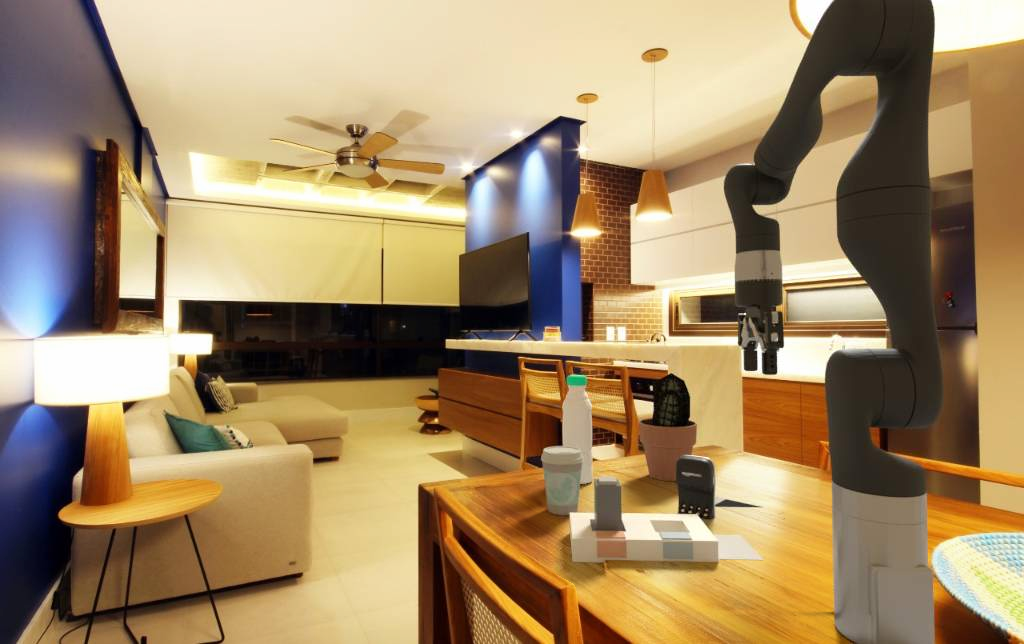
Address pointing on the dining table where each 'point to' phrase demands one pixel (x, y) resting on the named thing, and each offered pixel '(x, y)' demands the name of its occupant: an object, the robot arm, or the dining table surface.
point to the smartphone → (731, 503)
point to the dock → (643, 539)
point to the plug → (607, 504)
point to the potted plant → (668, 428)
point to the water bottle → (578, 423)
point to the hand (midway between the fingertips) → (759, 372)
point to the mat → (735, 548)
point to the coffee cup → (562, 478)
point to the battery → (696, 486)
